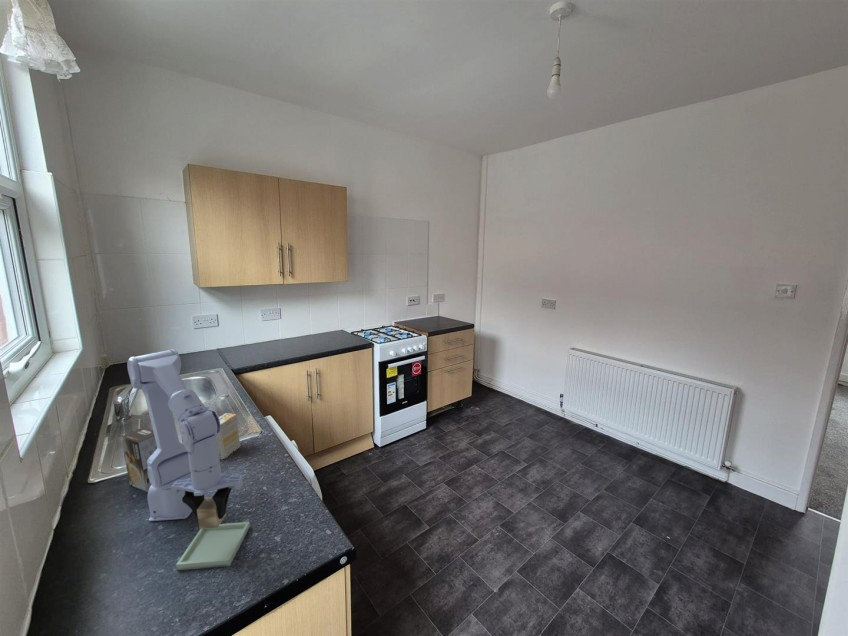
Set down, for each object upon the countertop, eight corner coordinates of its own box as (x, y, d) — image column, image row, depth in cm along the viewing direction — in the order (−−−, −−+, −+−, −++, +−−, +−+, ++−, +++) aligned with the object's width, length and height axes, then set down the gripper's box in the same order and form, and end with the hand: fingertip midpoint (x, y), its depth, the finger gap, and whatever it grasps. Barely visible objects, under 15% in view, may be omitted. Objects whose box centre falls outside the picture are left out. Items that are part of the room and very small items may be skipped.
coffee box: (170, 479, 107) (162, 432, 104) (147, 492, 101) (138, 442, 98) (151, 472, 110) (143, 426, 107) (127, 485, 104) (119, 436, 101)
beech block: (199, 528, 79) (196, 509, 78) (208, 515, 83) (205, 497, 82) (217, 527, 79) (215, 508, 78) (225, 514, 83) (223, 496, 82)
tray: (176, 570, 76) (176, 564, 76) (203, 530, 87) (202, 525, 87) (230, 565, 77) (229, 560, 77) (249, 527, 88) (249, 521, 88)
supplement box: (229, 446, 125) (225, 412, 123) (241, 447, 124) (237, 413, 122) (211, 459, 117) (206, 423, 115) (223, 460, 116) (219, 425, 114)
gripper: (159, 477, 73) (168, 532, 76) (230, 472, 75) (237, 527, 77) (179, 458, 80) (186, 509, 83) (244, 454, 82) (249, 504, 84)
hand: (212, 516), depth 81 cm, fingers closed on beech block, 4 cm apart
